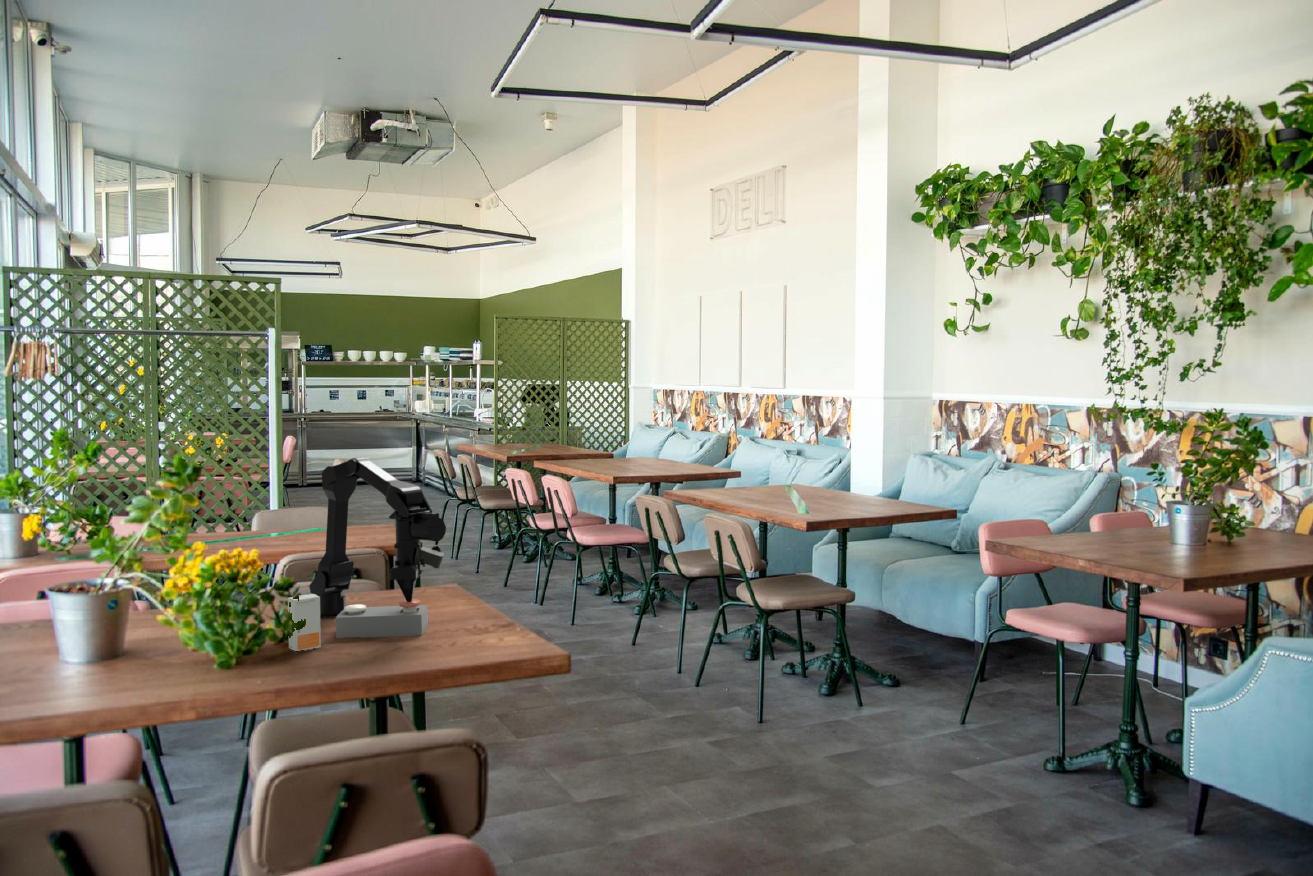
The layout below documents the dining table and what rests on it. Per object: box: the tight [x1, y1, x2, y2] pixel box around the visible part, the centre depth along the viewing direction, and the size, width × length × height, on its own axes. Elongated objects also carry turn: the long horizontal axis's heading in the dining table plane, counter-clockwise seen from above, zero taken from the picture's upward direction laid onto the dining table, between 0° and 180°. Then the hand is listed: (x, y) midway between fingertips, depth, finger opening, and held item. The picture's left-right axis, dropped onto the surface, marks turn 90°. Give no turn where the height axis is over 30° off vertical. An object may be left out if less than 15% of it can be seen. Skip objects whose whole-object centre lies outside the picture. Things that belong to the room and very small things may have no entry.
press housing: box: [335, 604, 429, 639], centre depth 232 cm, size 20×10×5 cm, turn 95°
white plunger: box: [344, 603, 367, 614], centre depth 231 cm, size 5×5×5 cm
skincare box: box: [287, 593, 322, 652], centre depth 218 cm, size 6×4×12 cm
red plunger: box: [398, 598, 421, 613], centre depth 233 cm, size 5×5×5 cm
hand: (409, 601), depth 233 cm, fingers closed, pressing on red plunger
